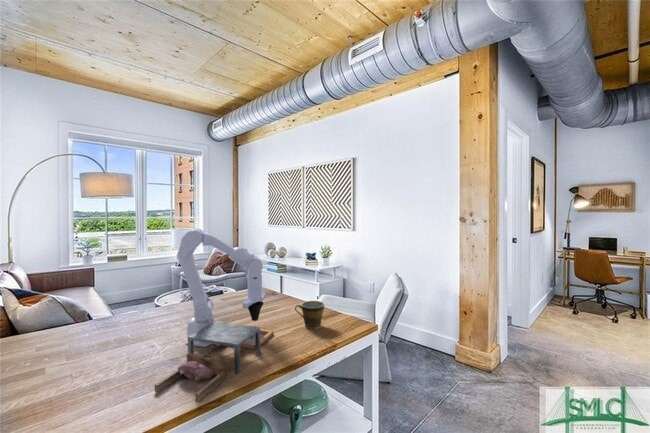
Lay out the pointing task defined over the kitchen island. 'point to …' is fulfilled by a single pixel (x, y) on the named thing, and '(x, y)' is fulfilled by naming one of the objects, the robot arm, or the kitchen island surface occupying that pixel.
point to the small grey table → (226, 338)
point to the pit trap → (263, 337)
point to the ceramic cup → (312, 314)
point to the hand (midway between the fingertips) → (254, 320)
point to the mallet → (211, 362)
